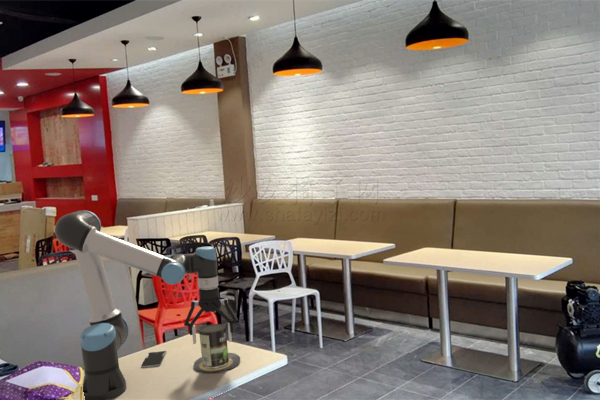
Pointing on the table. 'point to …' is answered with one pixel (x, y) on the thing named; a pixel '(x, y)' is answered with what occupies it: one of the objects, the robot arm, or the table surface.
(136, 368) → the table surface
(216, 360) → the coffee can
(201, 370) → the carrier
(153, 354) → the smartphone
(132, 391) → the table surface
